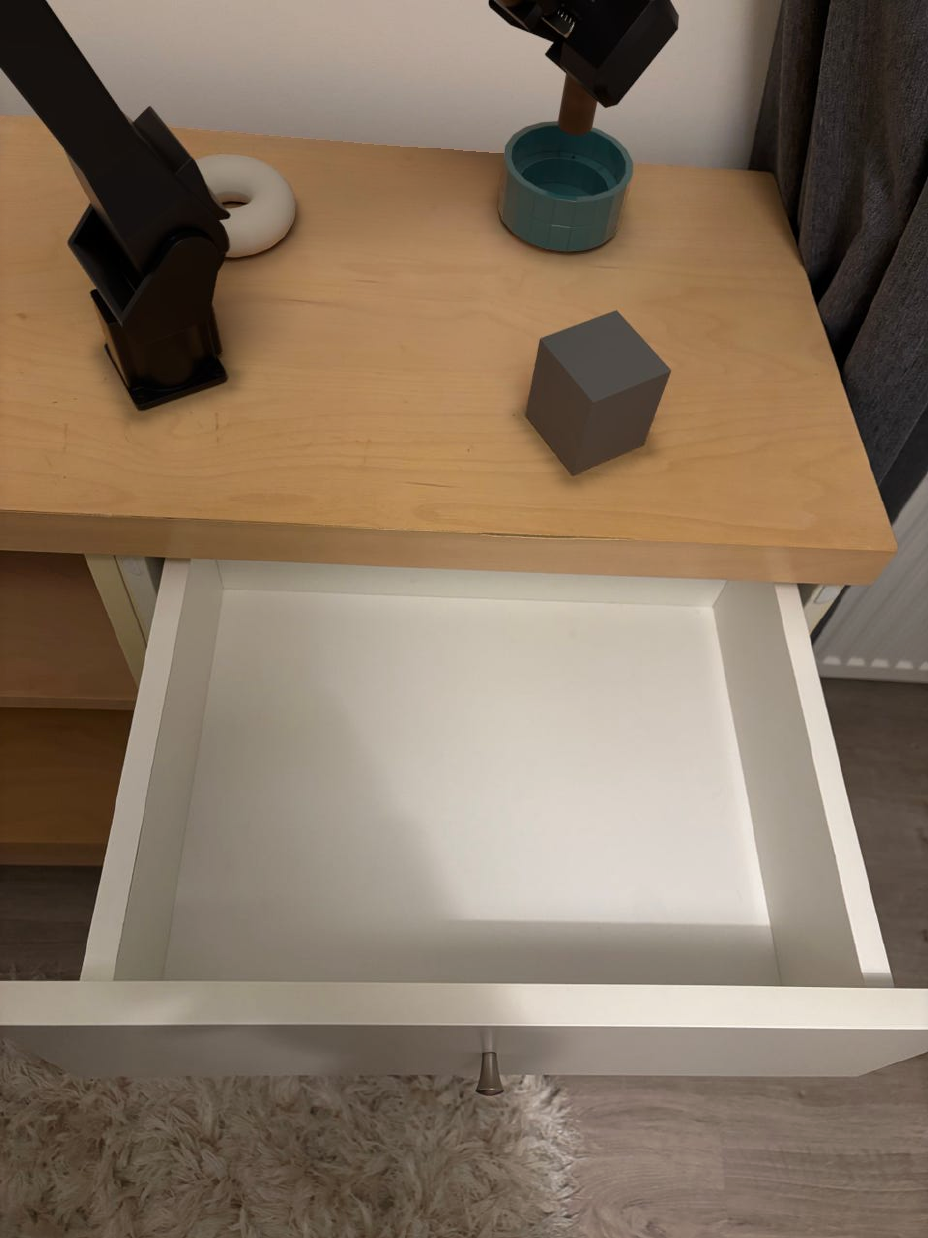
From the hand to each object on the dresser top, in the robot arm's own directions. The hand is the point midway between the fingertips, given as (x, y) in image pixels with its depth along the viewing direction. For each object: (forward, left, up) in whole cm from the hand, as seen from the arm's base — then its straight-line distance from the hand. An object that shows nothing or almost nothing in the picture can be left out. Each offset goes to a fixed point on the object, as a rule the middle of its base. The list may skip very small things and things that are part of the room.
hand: (602, 57), depth 64 cm
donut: (-25, +10, -12) cm, 30 cm away
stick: (-1, 0, -5) cm, 5 cm away
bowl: (-1, 0, -12) cm, 12 cm away
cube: (-12, -20, -12) cm, 27 cm away
